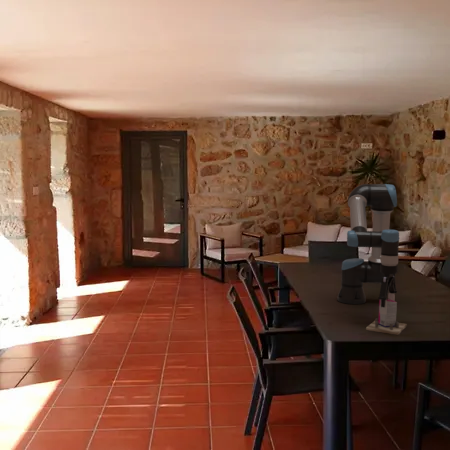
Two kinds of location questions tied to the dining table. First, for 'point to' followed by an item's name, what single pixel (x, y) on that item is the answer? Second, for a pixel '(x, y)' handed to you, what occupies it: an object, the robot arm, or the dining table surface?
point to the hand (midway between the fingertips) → (387, 310)
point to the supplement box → (388, 314)
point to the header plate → (390, 330)
